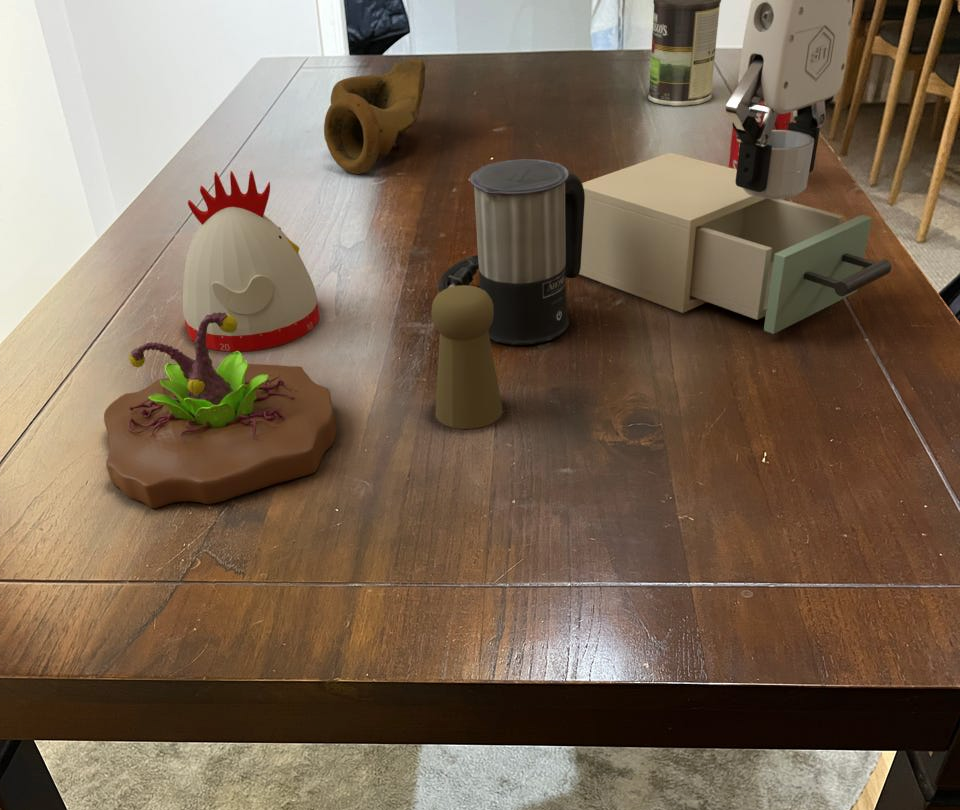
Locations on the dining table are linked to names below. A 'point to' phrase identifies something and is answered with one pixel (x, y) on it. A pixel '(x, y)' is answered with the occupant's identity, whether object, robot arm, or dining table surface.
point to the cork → (465, 359)
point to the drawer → (781, 261)
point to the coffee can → (683, 51)
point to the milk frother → (524, 247)
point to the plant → (216, 427)
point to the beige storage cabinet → (654, 225)
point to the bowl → (787, 165)
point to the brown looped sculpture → (372, 114)
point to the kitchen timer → (245, 273)
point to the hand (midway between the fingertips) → (774, 177)
